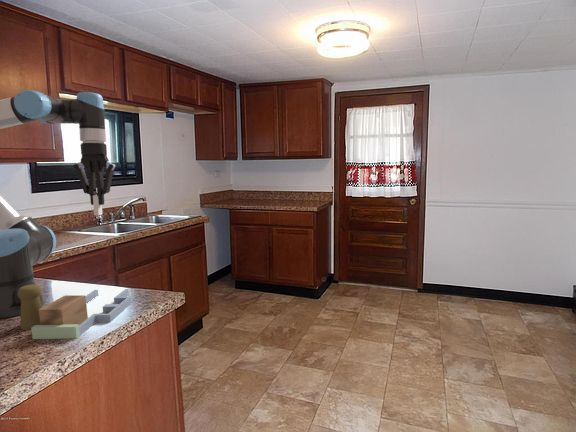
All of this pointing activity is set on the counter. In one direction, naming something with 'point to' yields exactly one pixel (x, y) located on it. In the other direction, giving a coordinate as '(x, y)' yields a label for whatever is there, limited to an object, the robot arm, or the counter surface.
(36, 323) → the cork
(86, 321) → the trap lane
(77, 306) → the walnut block
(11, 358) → the counter surface
